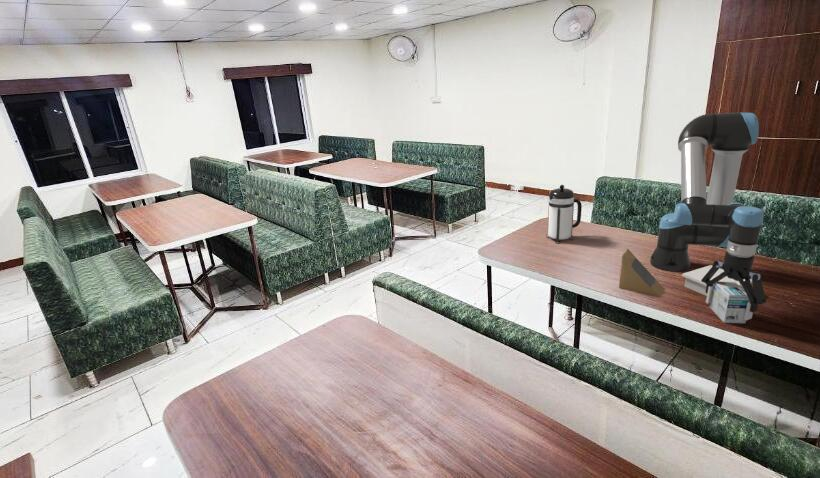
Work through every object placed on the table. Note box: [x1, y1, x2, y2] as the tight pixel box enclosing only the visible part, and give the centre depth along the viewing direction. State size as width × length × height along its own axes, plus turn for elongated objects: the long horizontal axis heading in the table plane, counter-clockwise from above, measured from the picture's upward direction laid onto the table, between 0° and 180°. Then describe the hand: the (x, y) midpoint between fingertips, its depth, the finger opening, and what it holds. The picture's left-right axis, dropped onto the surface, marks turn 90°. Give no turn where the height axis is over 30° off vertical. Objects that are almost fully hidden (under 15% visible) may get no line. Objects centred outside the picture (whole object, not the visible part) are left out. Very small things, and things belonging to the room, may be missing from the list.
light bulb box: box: [709, 282, 750, 324], centre depth 141 cm, size 11×7×11 cm, turn 169°
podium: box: [681, 264, 752, 297], centre depth 159 cm, size 16×16×6 cm
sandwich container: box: [618, 248, 665, 298], centre depth 163 cm, size 9×15×15 cm, turn 51°
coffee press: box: [545, 184, 583, 243], centre depth 218 cm, size 17×16×30 cm
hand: (727, 310), depth 142 cm, fingers closed on light bulb box, 12 cm apart
